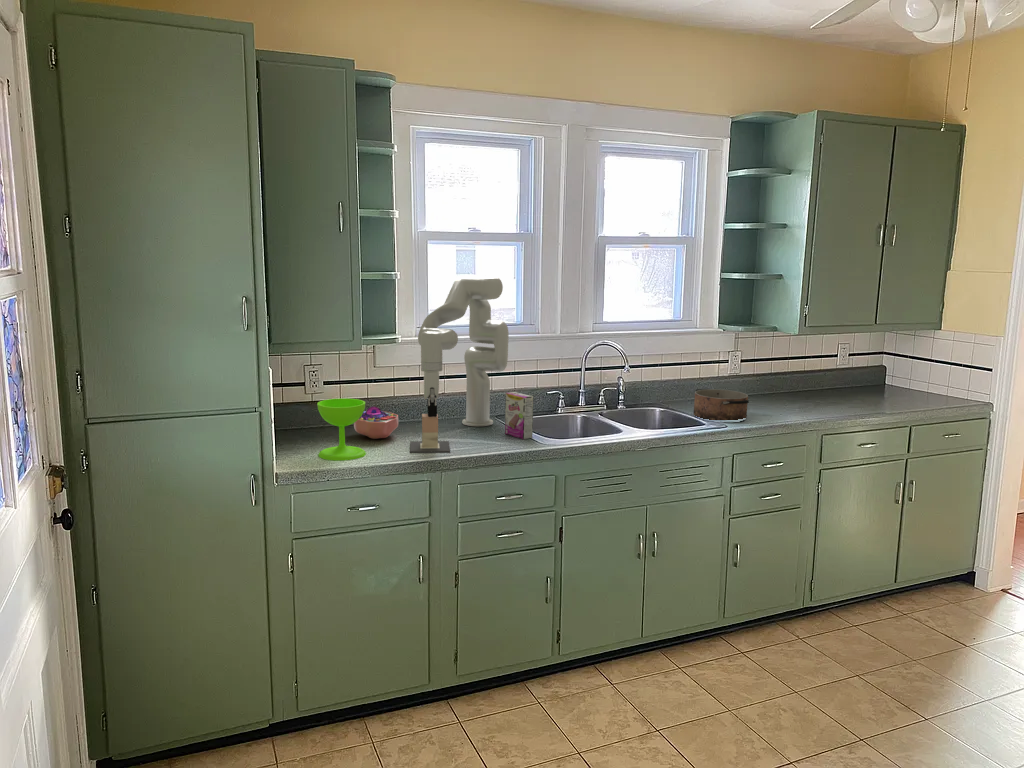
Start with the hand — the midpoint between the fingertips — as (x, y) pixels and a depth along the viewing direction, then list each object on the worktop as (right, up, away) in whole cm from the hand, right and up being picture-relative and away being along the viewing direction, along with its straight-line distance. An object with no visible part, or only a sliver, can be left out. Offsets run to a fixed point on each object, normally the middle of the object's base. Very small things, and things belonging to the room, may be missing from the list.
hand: (432, 413), depth 277 cm
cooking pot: (+119, -5, +62) cm, 135 cm away
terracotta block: (-1, -6, -1) cm, 6 cm away
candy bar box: (+31, -10, +20) cm, 38 cm away
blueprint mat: (-1, -12, 0) cm, 12 cm away
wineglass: (-30, -14, -11) cm, 35 cm away
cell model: (-23, -10, +14) cm, 28 cm away
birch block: (-1, -12, 0) cm, 12 cm away
